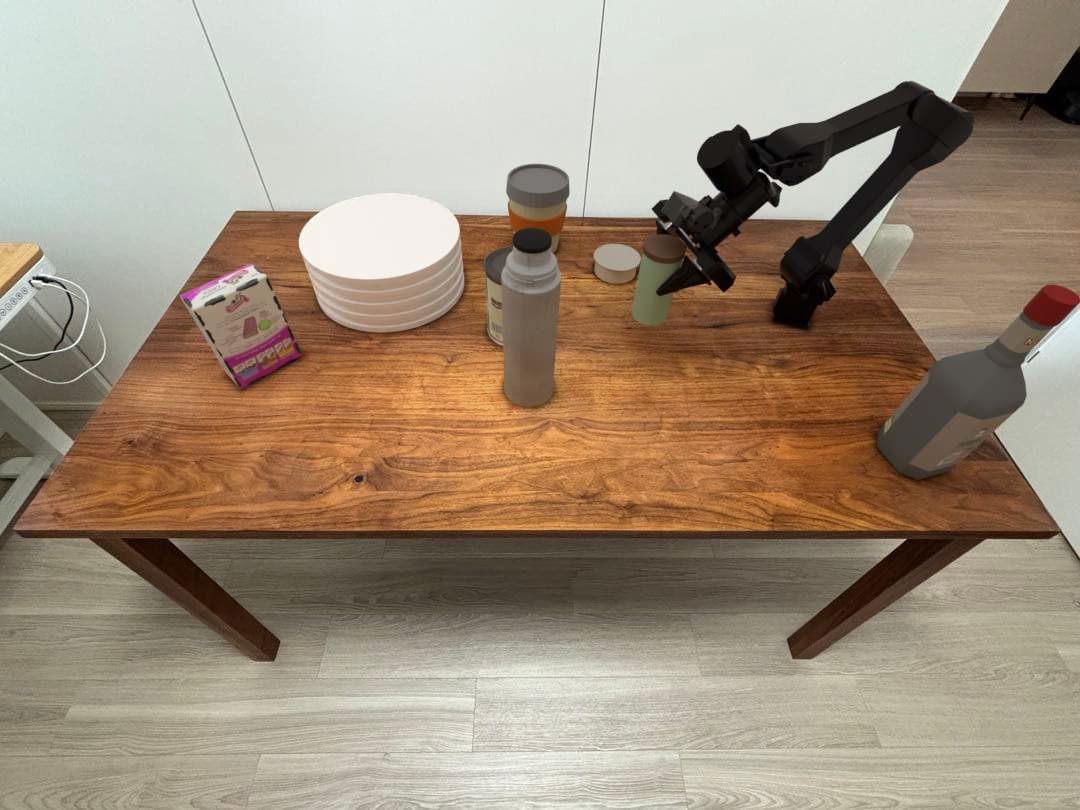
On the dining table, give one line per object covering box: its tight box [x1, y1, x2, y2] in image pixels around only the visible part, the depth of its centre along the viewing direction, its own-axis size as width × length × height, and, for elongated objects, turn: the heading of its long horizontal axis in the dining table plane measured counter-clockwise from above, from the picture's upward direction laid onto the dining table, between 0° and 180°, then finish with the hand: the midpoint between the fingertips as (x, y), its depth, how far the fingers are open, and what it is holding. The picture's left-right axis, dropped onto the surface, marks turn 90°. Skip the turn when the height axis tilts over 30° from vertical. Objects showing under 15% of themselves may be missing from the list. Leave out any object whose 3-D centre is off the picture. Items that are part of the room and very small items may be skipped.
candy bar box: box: [179, 263, 303, 390], centre depth 83 cm, size 11×5×16 cm, turn 137°
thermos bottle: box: [501, 228, 562, 408], centre depth 77 cm, size 8×8×28 cm
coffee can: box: [483, 245, 513, 347], centre depth 92 cm, size 10×10×14 cm
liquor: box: [876, 284, 1080, 481], centre depth 70 cm, size 9×9×30 cm
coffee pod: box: [593, 243, 642, 285], centre depth 109 cm, size 9×9×4 cm
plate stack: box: [298, 192, 465, 333], centre depth 100 cm, size 28×28×12 cm
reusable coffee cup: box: [505, 163, 571, 254], centre depth 109 cm, size 12×13×15 cm
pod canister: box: [630, 234, 687, 326], centre depth 85 cm, size 6×6×13 cm
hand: (648, 282), depth 85 cm, fingers closed on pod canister, 6 cm apart
